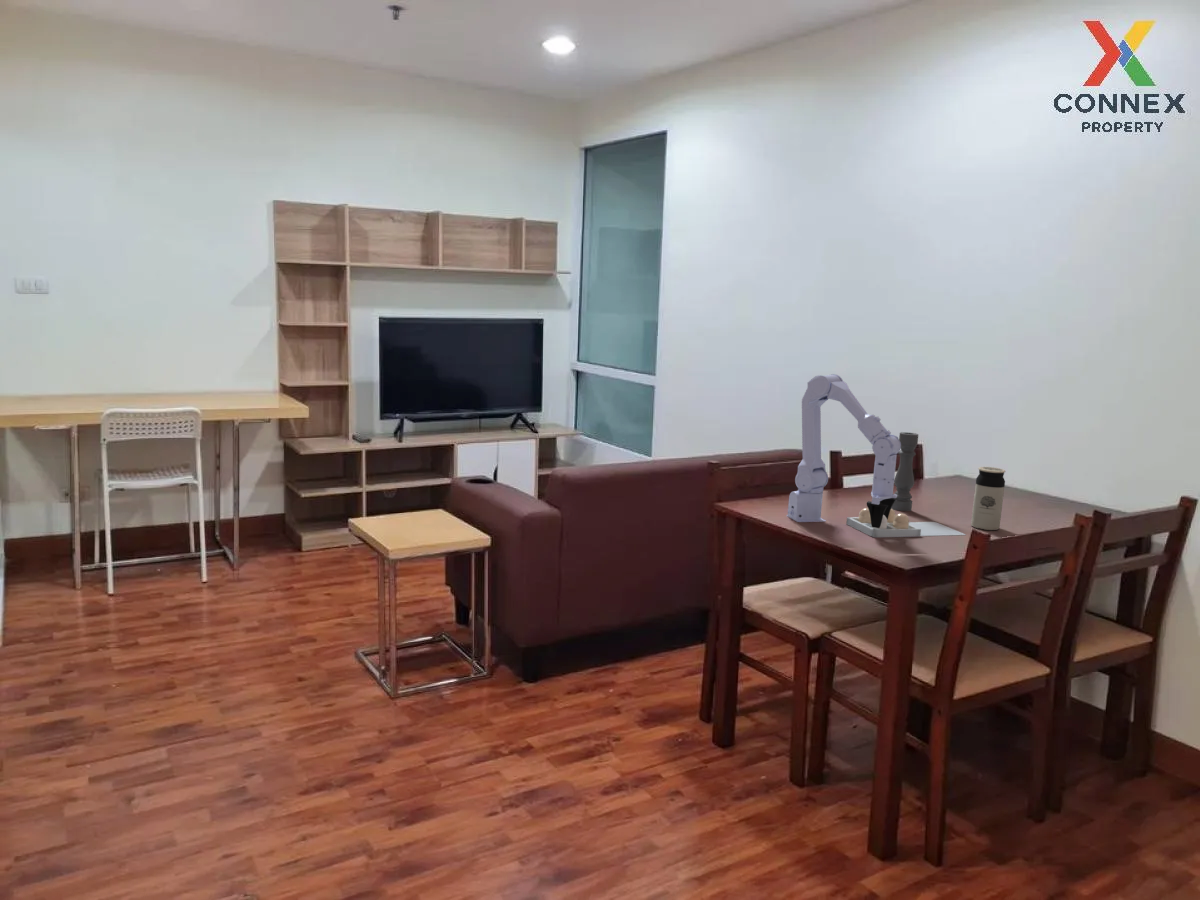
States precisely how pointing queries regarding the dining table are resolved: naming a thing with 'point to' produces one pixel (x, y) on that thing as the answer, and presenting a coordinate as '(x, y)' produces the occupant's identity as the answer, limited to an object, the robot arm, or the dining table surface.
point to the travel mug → (988, 498)
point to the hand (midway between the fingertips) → (879, 524)
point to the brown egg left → (864, 516)
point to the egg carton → (912, 530)
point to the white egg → (882, 523)
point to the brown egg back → (901, 521)
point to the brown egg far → (891, 516)
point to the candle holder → (905, 472)
